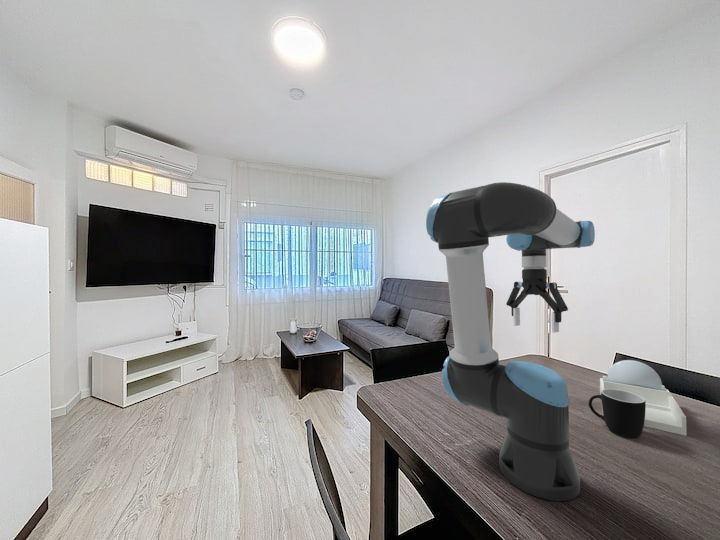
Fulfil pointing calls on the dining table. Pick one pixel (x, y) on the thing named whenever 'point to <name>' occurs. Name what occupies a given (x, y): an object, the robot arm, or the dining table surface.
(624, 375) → the plate in rack
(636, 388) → the dish rack
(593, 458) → the dining table surface
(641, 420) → the mug
